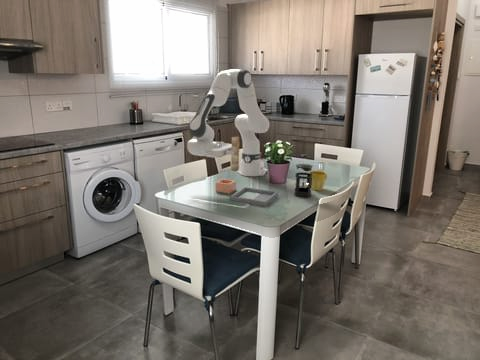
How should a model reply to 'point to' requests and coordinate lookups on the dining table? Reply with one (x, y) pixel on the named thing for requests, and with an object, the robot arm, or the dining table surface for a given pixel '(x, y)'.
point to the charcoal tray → (260, 200)
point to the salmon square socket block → (225, 186)
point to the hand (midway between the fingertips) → (236, 152)
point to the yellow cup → (318, 179)
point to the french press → (300, 189)
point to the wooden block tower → (236, 156)
